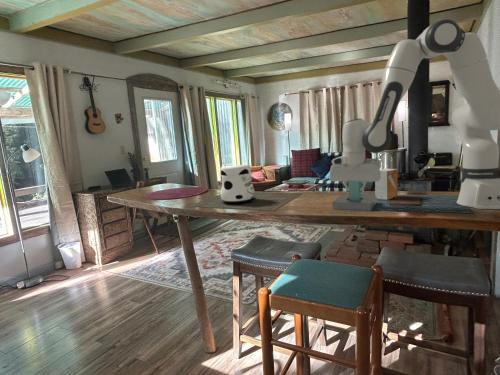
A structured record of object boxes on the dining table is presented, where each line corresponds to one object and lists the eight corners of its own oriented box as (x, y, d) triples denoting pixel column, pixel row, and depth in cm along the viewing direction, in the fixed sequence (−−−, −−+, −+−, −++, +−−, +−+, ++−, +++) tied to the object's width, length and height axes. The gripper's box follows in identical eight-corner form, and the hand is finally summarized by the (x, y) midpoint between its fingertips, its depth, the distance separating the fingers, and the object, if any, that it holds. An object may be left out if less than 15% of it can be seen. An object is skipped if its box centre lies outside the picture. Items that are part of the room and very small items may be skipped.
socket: (376, 202, 139) (376, 196, 138) (370, 210, 126) (370, 203, 126) (341, 201, 146) (341, 195, 146) (332, 209, 134) (332, 202, 133)
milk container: (260, 201, 160) (257, 165, 157) (227, 206, 153) (224, 169, 150) (247, 196, 175) (245, 163, 173) (217, 201, 169) (214, 167, 166)
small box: (387, 200, 143) (387, 171, 141) (374, 198, 148) (374, 170, 146) (397, 197, 147) (397, 168, 145) (385, 195, 152) (385, 168, 150)
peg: (361, 202, 137) (360, 179, 135) (359, 204, 133) (358, 181, 132) (351, 202, 139) (350, 179, 137) (349, 204, 135) (348, 181, 134)
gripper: (382, 157, 131) (382, 190, 133) (332, 159, 141) (333, 190, 143) (379, 158, 125) (380, 193, 127) (327, 160, 135) (329, 192, 138)
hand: (354, 191), depth 135 cm, fingers closed on peg, 4 cm apart
